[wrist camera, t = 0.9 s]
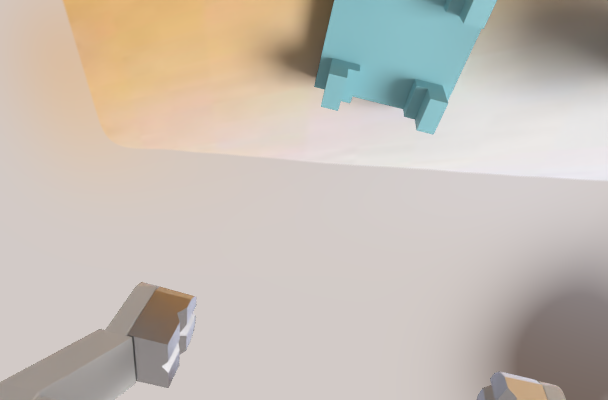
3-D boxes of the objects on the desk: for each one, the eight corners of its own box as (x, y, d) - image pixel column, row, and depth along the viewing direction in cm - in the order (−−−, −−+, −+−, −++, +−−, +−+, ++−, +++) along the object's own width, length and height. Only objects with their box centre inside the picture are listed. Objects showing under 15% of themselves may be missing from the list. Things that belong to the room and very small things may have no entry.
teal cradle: (350, -68, 31) (346, -58, 27) (499, -29, 32) (519, -13, 27) (316, 78, 39) (309, 103, 35) (437, 108, 39) (444, 137, 35)
